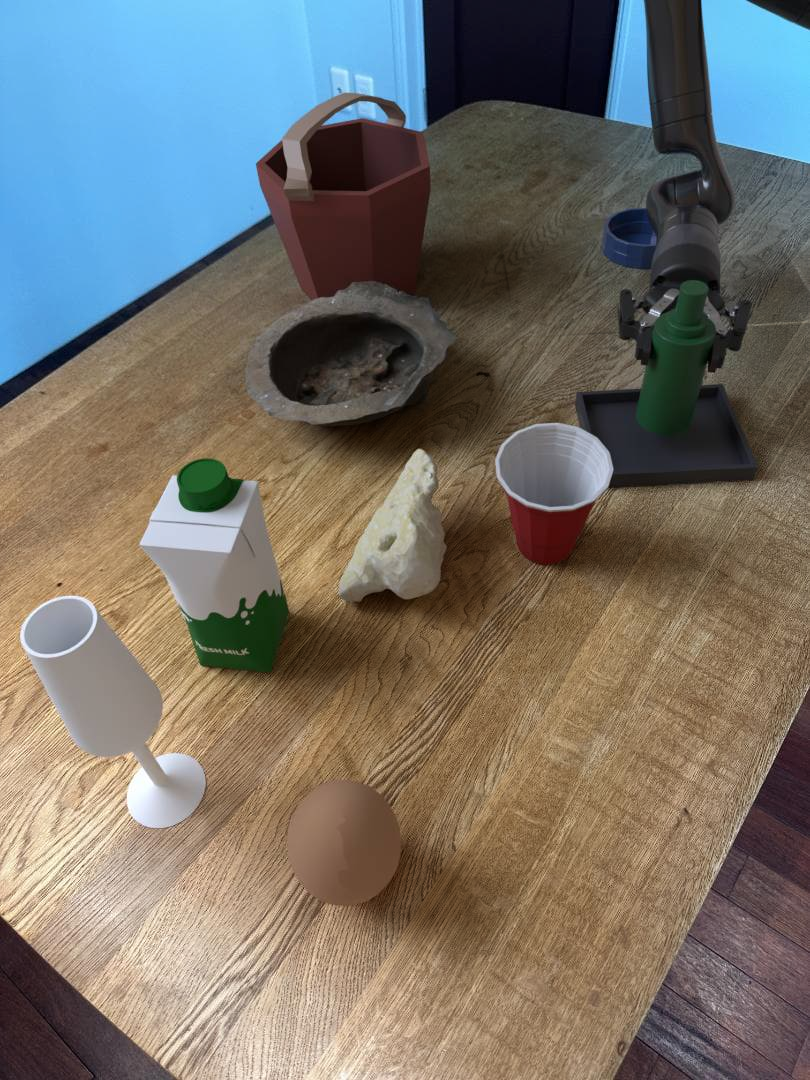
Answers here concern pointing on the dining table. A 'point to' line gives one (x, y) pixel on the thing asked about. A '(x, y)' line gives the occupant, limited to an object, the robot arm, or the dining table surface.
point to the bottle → (676, 363)
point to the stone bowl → (348, 356)
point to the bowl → (629, 238)
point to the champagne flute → (110, 705)
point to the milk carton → (220, 566)
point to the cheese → (400, 539)
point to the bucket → (349, 197)
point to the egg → (344, 842)
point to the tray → (668, 440)
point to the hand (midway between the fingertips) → (679, 361)
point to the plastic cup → (551, 486)
